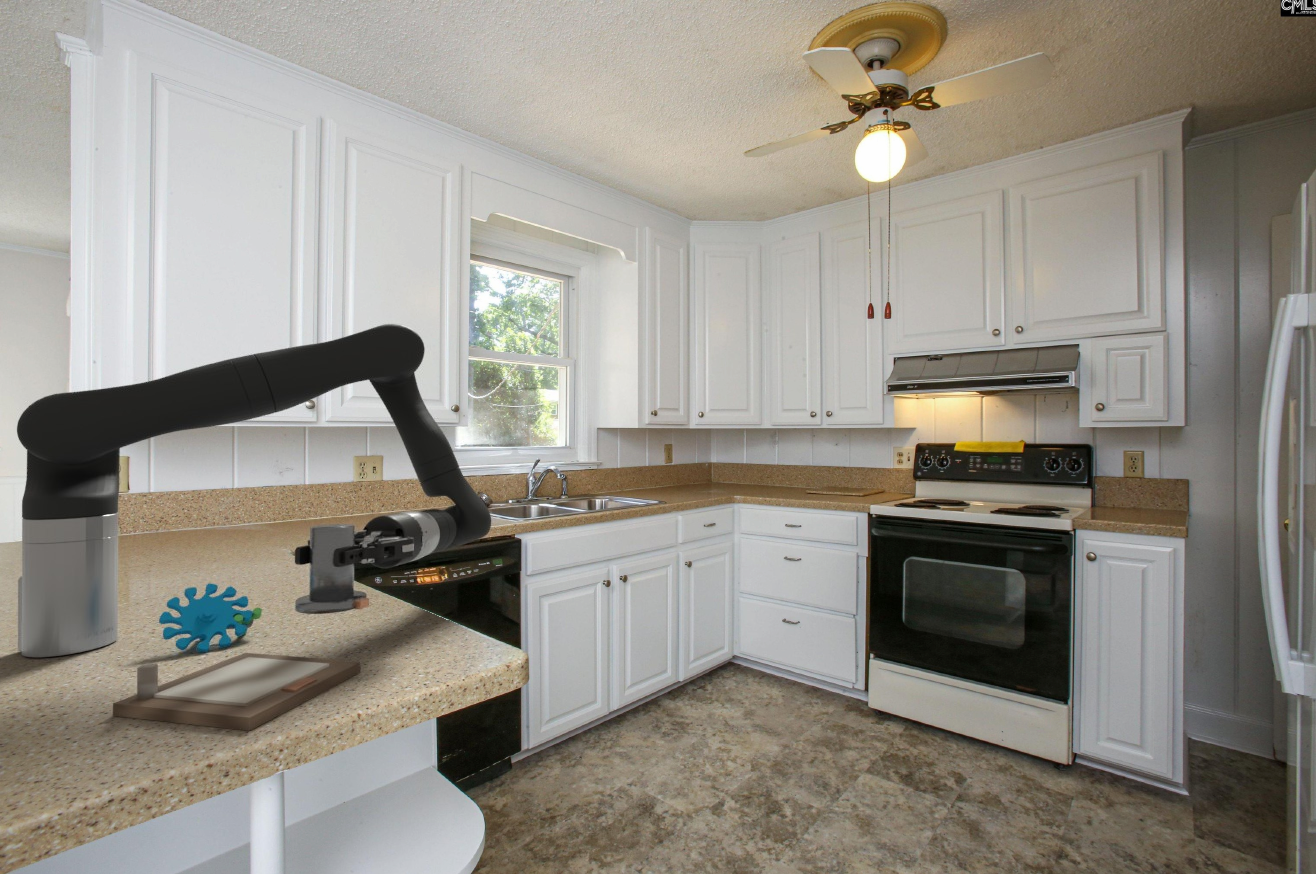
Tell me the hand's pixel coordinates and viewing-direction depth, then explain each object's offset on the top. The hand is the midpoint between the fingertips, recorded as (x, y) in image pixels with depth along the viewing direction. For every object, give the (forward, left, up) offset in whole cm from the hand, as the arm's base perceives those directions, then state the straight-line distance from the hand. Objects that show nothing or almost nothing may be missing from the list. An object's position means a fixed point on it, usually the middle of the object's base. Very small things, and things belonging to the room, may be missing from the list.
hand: (317, 557), depth 76 cm
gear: (-18, +2, -13) cm, 23 cm away
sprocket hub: (0, +3, -7) cm, 7 cm away
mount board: (0, -10, -13) cm, 16 cm away
